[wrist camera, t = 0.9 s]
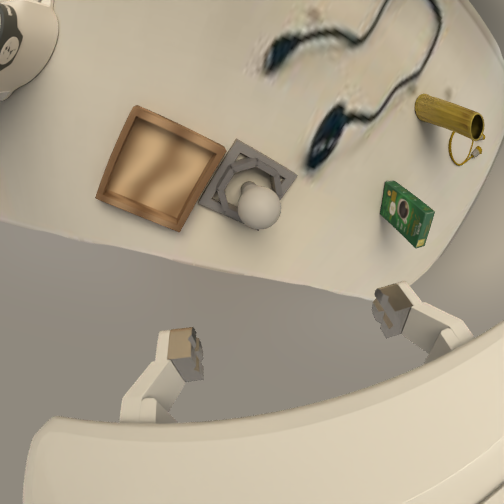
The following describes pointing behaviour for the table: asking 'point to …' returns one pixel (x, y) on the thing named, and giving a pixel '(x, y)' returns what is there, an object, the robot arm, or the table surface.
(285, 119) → the table surface
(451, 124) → the vase
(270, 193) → the lightbulb
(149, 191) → the tray
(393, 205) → the coffee box
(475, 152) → the extension cord
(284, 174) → the socket
